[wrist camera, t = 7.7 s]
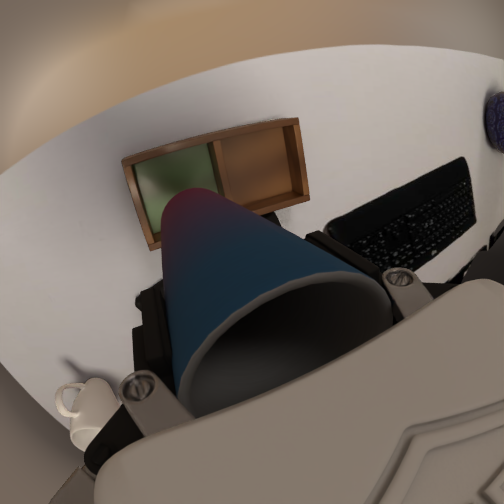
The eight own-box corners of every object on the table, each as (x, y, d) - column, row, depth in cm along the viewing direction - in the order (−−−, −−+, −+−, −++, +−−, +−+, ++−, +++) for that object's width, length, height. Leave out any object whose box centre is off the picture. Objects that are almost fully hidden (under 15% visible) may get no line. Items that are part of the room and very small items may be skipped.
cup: (233, 267, 23) (346, 421, 10) (144, 264, 20) (176, 459, 7) (249, 180, 21) (422, 270, 8) (153, 169, 18) (187, 267, 5)
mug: (132, 390, 41) (138, 446, 31) (98, 407, 40) (100, 460, 30) (80, 346, 35) (73, 406, 25) (48, 367, 34) (38, 424, 24)
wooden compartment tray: (123, 157, 29) (121, 160, 25) (282, 118, 34) (298, 117, 30) (148, 239, 34) (150, 251, 30) (294, 193, 38) (310, 200, 35)
